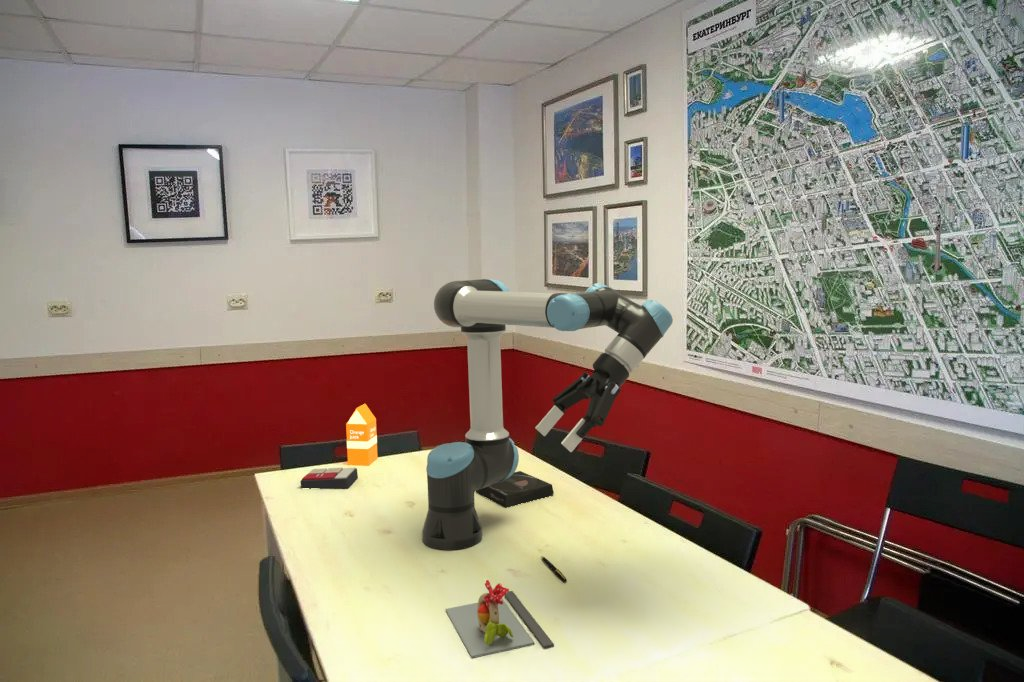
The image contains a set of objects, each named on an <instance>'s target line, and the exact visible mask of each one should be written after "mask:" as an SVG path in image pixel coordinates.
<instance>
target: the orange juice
mask: <svg viewBox="0 0 1024 682" xmlns="http://www.w3.org/2000/svg"><path fill="white" fill-rule="evenodd" d="M345 427H346V428H345V429H346V431H345V432H346V449H347V451H346V452H347V453H346V454H347V466H357V467H358V466H362V467H365V466H367V467H368V466H370V465H371V464H373V463H374V462H375V461H377V460H378V435H377V418H376V417H375V415H374V414H373V413H372V411H371V410H370V408H369V407H368V405H367V404H366V403H364V404H362V405H359V406H358V407H356V408H355V410H354V411H353V413H352V415H351V416H350V418H349V420H348V421H347V422H346V423H345Z"/></svg>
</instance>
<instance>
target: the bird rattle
mask: <svg viewBox="0 0 1024 682" xmlns="http://www.w3.org/2000/svg"><path fill="white" fill-rule="evenodd" d="M484 586H485V588H486V590H487V591H488V592H484V593H482V594H481V595H480V596H479V598H478V601H477V603H478V605H477V616H478V621H479V629H480V631H483V632H484V633H486V634H485V637H484V642H485V643H489V645H491V644H492V641H493V640H494V638H495V635H497V636H500V637H505V636H506V635H507V634H508V632H509V634H510V636H511V637H513V633H512V631H511V629H510V628H509V627H508V626H507V625H506V624H503V623H500V624H499V610H498V603H499V604H503V601H502V599H503V597H505V595H506V594H507V593H508V592H509V591H510V589H509V588H507V587H504V586H503V585H502V583H497V584H496V585H495V587H494V588H493V587H492V584H491V582H490V580H489V579H486V580H485V583H484Z"/></svg>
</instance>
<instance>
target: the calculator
mask: <svg viewBox="0 0 1024 682" xmlns="http://www.w3.org/2000/svg"><path fill="white" fill-rule="evenodd" d="M357 480H359V475H358V468H357V467H344V468H343V467H329V468H328V469H327V467H326V468H312V470H310V471H309V472H308V473H306V474H305V475H304V476H303V477H302V478H301V480H300V481H299V482H300V489H301V488H309V489H308V490H312V489H311V488H320V489H319V490H325V489H334V490H349V489H350V487H352V486H353V484H354V483H355V482H356V481H357Z"/></svg>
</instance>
